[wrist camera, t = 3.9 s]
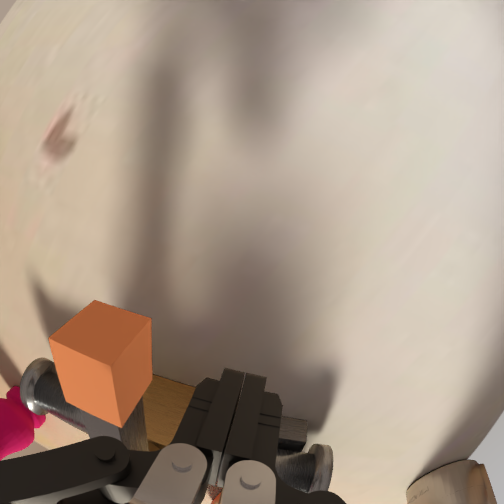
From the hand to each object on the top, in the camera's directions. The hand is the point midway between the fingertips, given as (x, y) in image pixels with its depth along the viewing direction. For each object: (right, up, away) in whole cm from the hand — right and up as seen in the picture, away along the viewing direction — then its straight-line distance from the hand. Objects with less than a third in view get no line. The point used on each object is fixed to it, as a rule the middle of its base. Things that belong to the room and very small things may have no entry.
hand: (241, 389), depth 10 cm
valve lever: (-6, -4, +3) cm, 8 cm away
